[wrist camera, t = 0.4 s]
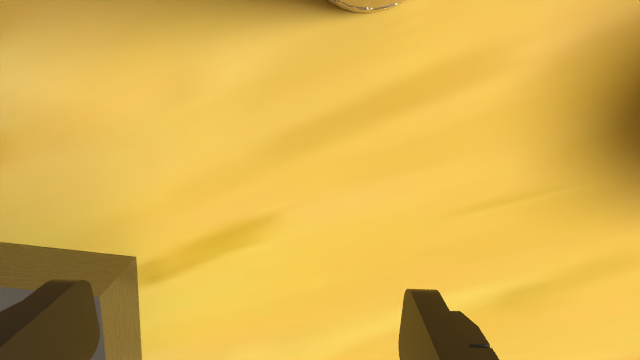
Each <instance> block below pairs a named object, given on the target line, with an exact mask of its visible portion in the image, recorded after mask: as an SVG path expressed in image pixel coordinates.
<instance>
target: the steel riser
mask: <svg viewBox="0 0 640 360" xmlns="http://www.w3.org/2000/svg"><path fill="white" fill-rule="evenodd" d="M53 279H65V280H86V281H88V282H89V283H90V284H91V287H92V291H93V296H94V302H95V307H96V312H97V317H98V323H99V328H100V339H99V343H98V347H97V349H96V351H95V353H94V355H93V357H92V358H91V359H90V360H142V357H141V338H140V320H139V302H138V284H137V266H136V257H130V256H120V255H111V254H102V253H93V252H83V251H74V250H65V249H56V248H46V247H37V246H28V245H19V244H10V243H0V312H1V311H3V310H5V309H7V308H8V307H10V306H12V305H14V304H16V303H18V302H20V301H22V300H24V299H25V298H26V297H28V296H29V295H30V294H32V293H33V292H34V291H35V290H37V289H38V288H39V287H41V286H42V285H43V284H45V283H46V282H48V281H50V280H53Z"/></svg>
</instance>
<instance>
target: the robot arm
mask: <svg viewBox="0 0 640 360" xmlns="http://www.w3.org/2000/svg"><path fill="white" fill-rule="evenodd" d="M328 1H329V2H331V3H333V4H335V5H336V6H338V7H340V8H342V9H346V10H349V11H353V12H361V13H373V12H378V11H383V10H387V9H389V8H391V7H393V6H396V5H398V4H400V3H402V2H403V1H405V0H328ZM99 339H100V328H99V323H98V317H97V312H96V307H95V302H94V296H93V291H92V287H91V284H90V283H89V282H88V281H86V280H65V279H53V280H50V281H48V282H46V283H45V284H43V285H42V286H41V287H39V288H38V289H37V290H35V291H34V292H33V293H32V294H30V295H29V296H28V297H26V298H25V299H24V300H22V301H20V302H18V303H16V304H14V305H12V306H10V307H8V308H7V309H5V310H3V311H1V312H0V360H90V359H91V358H92V357H93V355H94V353H95V351H96V349H97V347H98V343H99ZM399 357H400V360H499V359H498V357H497V355H496V354H495V352H494V351H493V349H492V348H490V344H489V343H488V341H487V340H486V338H485V337H484V335H483V333H482V332H481V330H480V329H479V327H478V326H477V325H476V324H475V323H473V322H472V321H471V320H470V319H469V318H467V317H466V316H465V315H464V314H463V313H462V312H460V311H449V309H448V307H447V305H446V304H445V302H444V300H443V298H442V296H441V295H440V293H439V292H438V291H437V290H425V289H407V290H406V291H405V294H404V301H403V309H402V317H401V325H400V333H399Z"/></svg>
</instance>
